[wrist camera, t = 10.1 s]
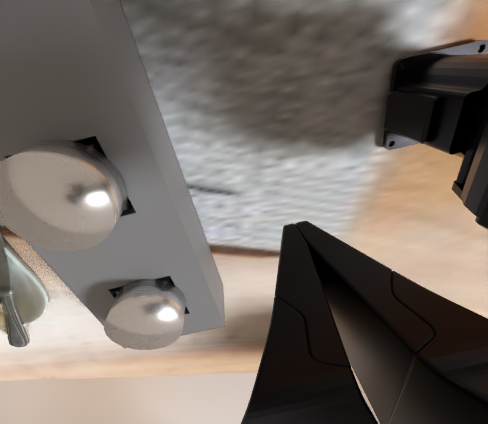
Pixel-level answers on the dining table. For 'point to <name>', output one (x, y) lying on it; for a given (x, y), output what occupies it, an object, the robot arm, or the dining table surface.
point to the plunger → (146, 314)
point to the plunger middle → (62, 194)
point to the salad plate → (19, 295)
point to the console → (105, 149)
